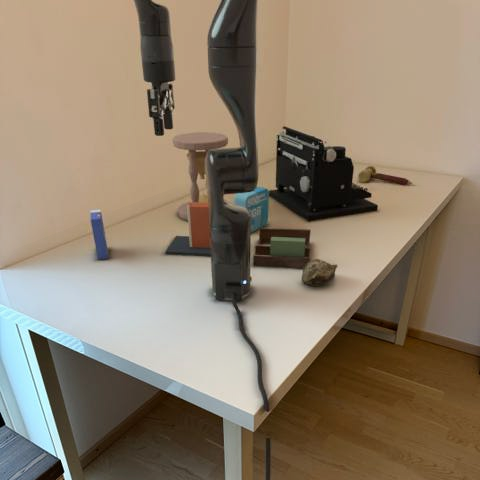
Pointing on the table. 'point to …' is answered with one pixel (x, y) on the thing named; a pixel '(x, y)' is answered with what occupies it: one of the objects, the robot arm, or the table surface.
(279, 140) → the typewriter
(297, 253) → the paperback
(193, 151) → the hourglass
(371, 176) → the gavel
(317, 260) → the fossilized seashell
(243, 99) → the robot arm
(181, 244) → the slate mat
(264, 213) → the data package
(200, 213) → the book
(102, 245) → the walkman
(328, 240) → the table surface
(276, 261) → the book rack
